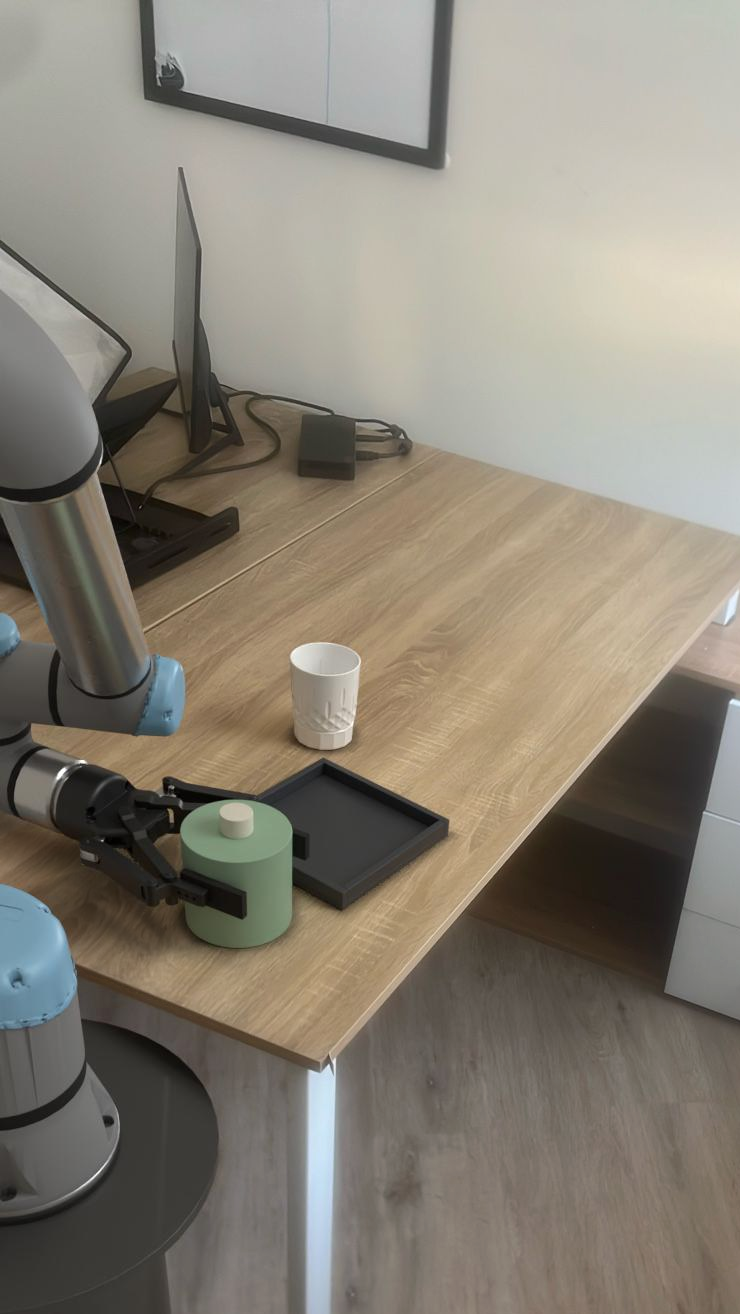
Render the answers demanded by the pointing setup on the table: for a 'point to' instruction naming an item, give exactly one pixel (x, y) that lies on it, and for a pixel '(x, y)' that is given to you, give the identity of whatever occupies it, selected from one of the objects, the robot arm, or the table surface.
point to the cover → (240, 869)
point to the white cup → (324, 694)
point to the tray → (351, 830)
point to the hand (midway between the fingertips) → (277, 875)
